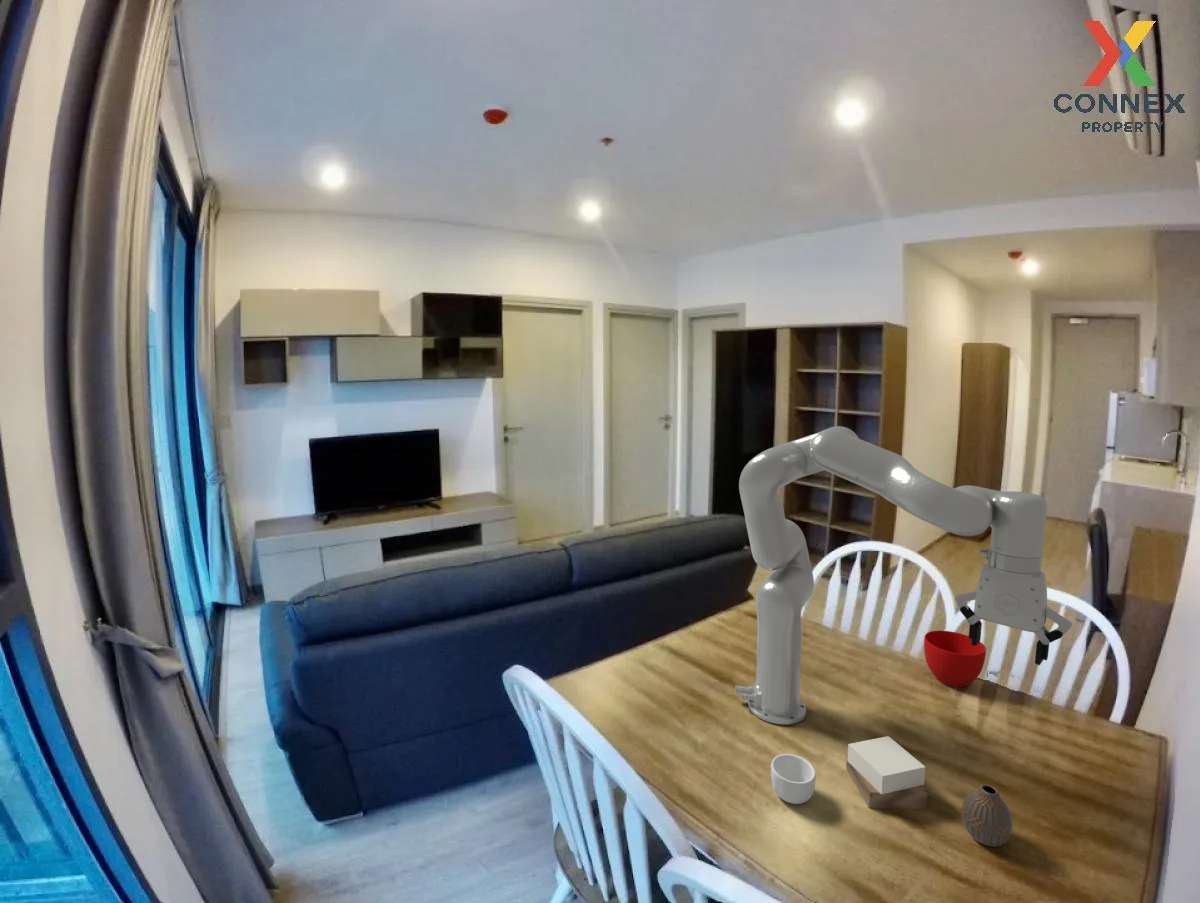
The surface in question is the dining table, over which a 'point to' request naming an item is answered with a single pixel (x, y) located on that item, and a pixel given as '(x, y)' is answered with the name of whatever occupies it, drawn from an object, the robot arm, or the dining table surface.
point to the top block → (886, 765)
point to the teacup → (793, 778)
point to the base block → (888, 794)
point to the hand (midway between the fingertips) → (1006, 652)
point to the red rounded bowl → (953, 657)
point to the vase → (987, 816)
